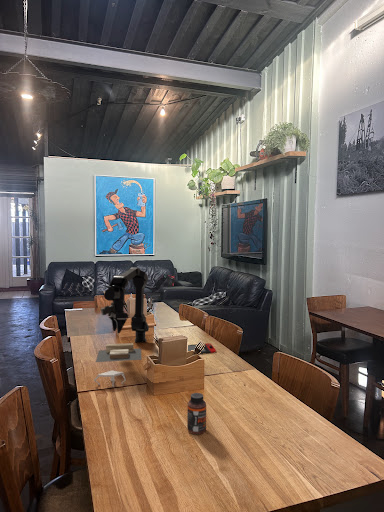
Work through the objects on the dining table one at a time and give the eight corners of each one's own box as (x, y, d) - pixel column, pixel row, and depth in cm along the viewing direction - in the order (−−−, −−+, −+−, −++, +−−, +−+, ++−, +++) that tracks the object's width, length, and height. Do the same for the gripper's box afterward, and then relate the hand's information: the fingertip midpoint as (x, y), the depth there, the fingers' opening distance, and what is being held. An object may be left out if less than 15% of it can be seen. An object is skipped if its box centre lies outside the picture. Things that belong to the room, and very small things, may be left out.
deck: (110, 354, 188) (110, 350, 188) (128, 353, 190) (128, 349, 190) (109, 358, 182) (109, 353, 182) (128, 357, 184) (128, 352, 184)
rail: (106, 351, 194) (106, 344, 194) (133, 350, 197) (133, 343, 196) (106, 353, 191) (106, 346, 191) (133, 352, 194) (133, 344, 193)
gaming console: (161, 355, 184) (157, 346, 193) (161, 363, 185) (157, 353, 194) (217, 348, 193) (210, 340, 202) (216, 355, 194) (210, 347, 203)
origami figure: (120, 378, 159) (120, 367, 158) (126, 385, 151) (126, 373, 151) (92, 383, 153) (92, 371, 153) (96, 391, 146) (96, 378, 145)
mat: (99, 351, 195) (99, 350, 195) (140, 349, 199) (140, 348, 199) (95, 362, 178) (95, 362, 178) (141, 360, 181) (141, 359, 181)
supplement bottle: (200, 437, 112) (200, 401, 112) (183, 431, 115) (183, 396, 115) (209, 428, 117) (209, 393, 117) (193, 423, 120) (193, 389, 120)
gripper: (98, 299, 191) (96, 330, 190) (106, 300, 175) (104, 334, 173) (120, 300, 196) (118, 330, 194) (129, 301, 179) (127, 334, 177)
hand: (116, 332), depth 185 cm, fingers open, 9 cm apart
